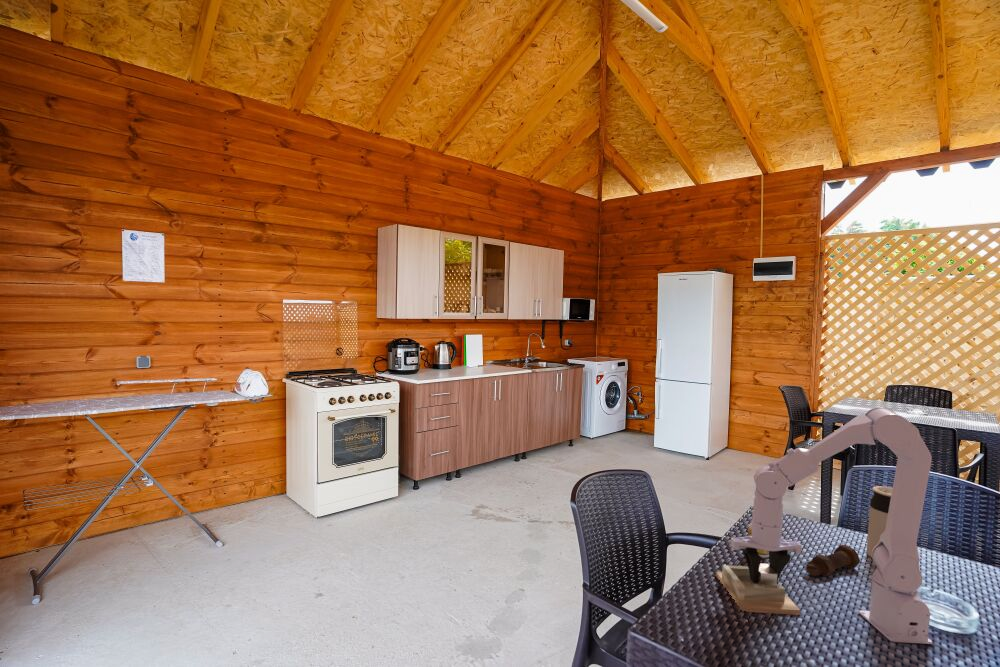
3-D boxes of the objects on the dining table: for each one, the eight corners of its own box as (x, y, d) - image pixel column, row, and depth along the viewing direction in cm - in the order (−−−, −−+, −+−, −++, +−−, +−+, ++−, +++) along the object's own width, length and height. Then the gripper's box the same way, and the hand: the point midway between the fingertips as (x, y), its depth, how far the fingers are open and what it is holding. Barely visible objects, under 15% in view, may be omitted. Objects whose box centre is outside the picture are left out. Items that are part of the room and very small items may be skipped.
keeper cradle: (800, 614, 105) (801, 596, 104) (741, 611, 105) (743, 592, 105) (767, 578, 119) (768, 562, 118) (716, 575, 119) (717, 559, 119)
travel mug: (859, 553, 133) (864, 487, 132) (879, 549, 136) (884, 484, 135) (891, 568, 126) (897, 498, 125) (911, 563, 129) (917, 494, 128)
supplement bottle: (771, 560, 128) (774, 523, 127) (748, 555, 130) (750, 519, 129) (768, 550, 133) (770, 515, 133) (746, 546, 135) (748, 511, 134)
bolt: (807, 583, 121) (844, 569, 128) (825, 582, 117) (864, 568, 123) (796, 557, 123) (834, 544, 130) (814, 555, 119) (852, 543, 126)
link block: (775, 596, 109) (777, 574, 109) (759, 595, 110) (761, 573, 109) (765, 585, 114) (767, 563, 114) (750, 584, 114) (751, 562, 114)
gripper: (790, 516, 115) (786, 573, 115) (726, 512, 115) (723, 570, 116) (808, 529, 108) (804, 591, 108) (739, 526, 108) (736, 587, 109)
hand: (763, 581), depth 112 cm, fingers closed on link block, 4 cm apart
